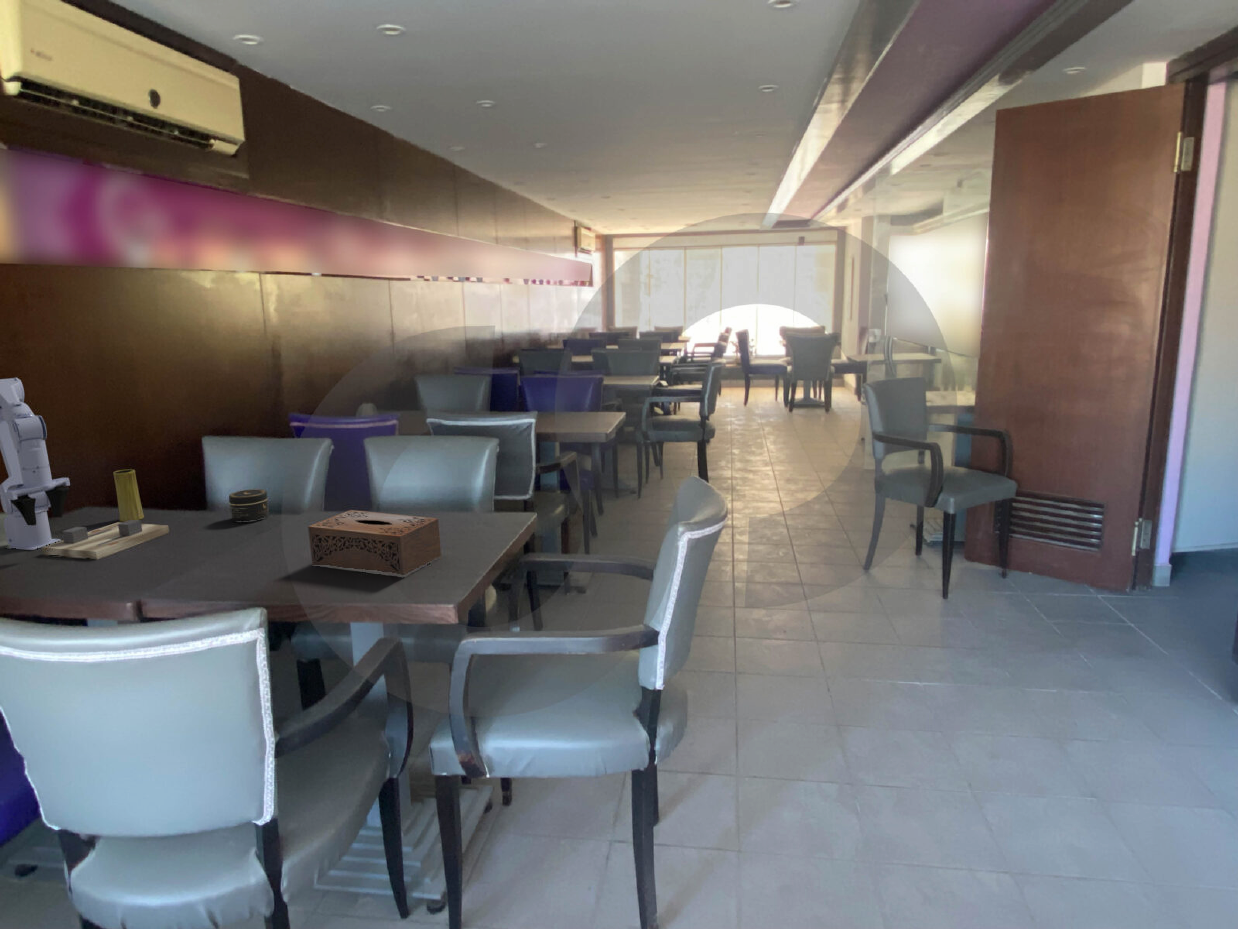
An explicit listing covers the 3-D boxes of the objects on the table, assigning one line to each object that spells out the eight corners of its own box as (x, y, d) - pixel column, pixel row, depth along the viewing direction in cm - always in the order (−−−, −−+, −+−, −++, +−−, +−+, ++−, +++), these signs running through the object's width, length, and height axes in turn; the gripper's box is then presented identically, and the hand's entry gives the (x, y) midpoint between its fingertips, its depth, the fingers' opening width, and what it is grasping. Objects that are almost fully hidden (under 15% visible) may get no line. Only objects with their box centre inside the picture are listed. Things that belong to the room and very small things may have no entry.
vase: (132, 522, 223) (124, 473, 220) (114, 521, 224) (106, 473, 221) (149, 516, 229) (141, 469, 226) (131, 515, 230) (123, 468, 227)
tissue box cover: (441, 558, 187) (438, 518, 185) (404, 579, 174) (400, 536, 171) (354, 548, 196) (350, 509, 194) (312, 567, 183) (307, 526, 181)
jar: (256, 524, 218) (253, 497, 217) (223, 523, 220) (220, 497, 218) (277, 514, 228) (273, 488, 226) (245, 513, 230) (242, 488, 228)
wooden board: (43, 555, 196) (41, 547, 195) (119, 529, 217) (117, 522, 216) (97, 559, 192) (95, 551, 191) (169, 532, 212) (168, 525, 212)
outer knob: (119, 535, 204) (117, 524, 203) (132, 530, 208) (130, 519, 207) (129, 535, 203) (127, 524, 202) (142, 531, 207) (140, 520, 206)
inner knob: (64, 542, 199) (62, 531, 198) (78, 537, 202) (76, 526, 202) (74, 543, 198) (72, 532, 197) (88, 538, 202) (86, 527, 201)
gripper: (18, 474, 181) (29, 530, 184) (75, 461, 195) (84, 513, 198) (-5, 473, 183) (6, 528, 186) (53, 460, 197) (62, 512, 199)
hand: (45, 520), depth 192 cm, fingers open, 6 cm apart
